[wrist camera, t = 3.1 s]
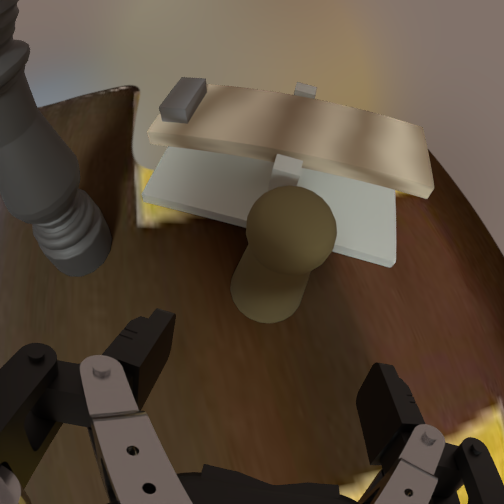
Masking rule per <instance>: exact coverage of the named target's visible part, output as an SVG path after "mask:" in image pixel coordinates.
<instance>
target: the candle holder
mask: <svg viewBox="0 0 504 504" xmlns="http://www.w3.org/2000/svg"><path fill="white" fill-rule="evenodd" d="M18 1H19V0H0V193H1V196H2V199H3V201H4V203H5V205H6V207H7V209H8V211H9V212H10V213H11V214H12V215H13V216H14V217H16V218H18V219H20V220H22V221H24V222H26V223H30V224H32V225H33V235H34V236H35V238H36V239H37V241H38V243H39V246H40V248H41V249H42V251H43V253H44V254H45V255H46V257H47V258H48V259H49V260H50V261H51V262H52V263H53V264H54V265H55V266H56V267H57V268H58V270H59V271H61V272H63V273H65V274H66V275H68V276H84V275H86V274H89V273H91V272H94V271H95V270H96V269H97V268H98V267H99V266H100V265H102V264H103V263H104V261H105V259H106V258H107V256H108V254H109V252H110V249H111V242H112V237H111V233H110V230H109V227H108V225H107V223H106V221H105V219H104V217H103V215H102V212H101V210H100V208H99V207H98V206H97V205H96V204H95V203H94V201H93V200H92V199H91V197H90V196H89V195H88V194H87V193H86V192H85V191H84V190H81V189H78V187H79V183H80V170H79V164H78V160H77V158H76V155H75V154H74V153H73V152H72V151H71V149H70V148H69V147H68V146H67V145H66V143H65V142H64V141H63V140H62V139H61V137H60V136H59V135H58V134H57V132H56V131H55V130H54V129H53V127H52V126H51V125H50V124H49V122H48V121H47V120H46V119H45V117H44V116H43V115H42V114H41V112H40V111H39V110H38V108H37V106H36V103H35V101H34V98H33V95H32V93H31V90H30V87H29V85H28V82H27V79H26V76H25V73H24V69H25V64H26V63H27V61H28V58H29V54H30V48H29V45H28V44H27V43H25V42H24V41H21V40H13V36H12V35H13V33H14V31H15V21H16V18H17V16H18V13H19V9H18V7H17V2H18Z"/></svg>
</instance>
